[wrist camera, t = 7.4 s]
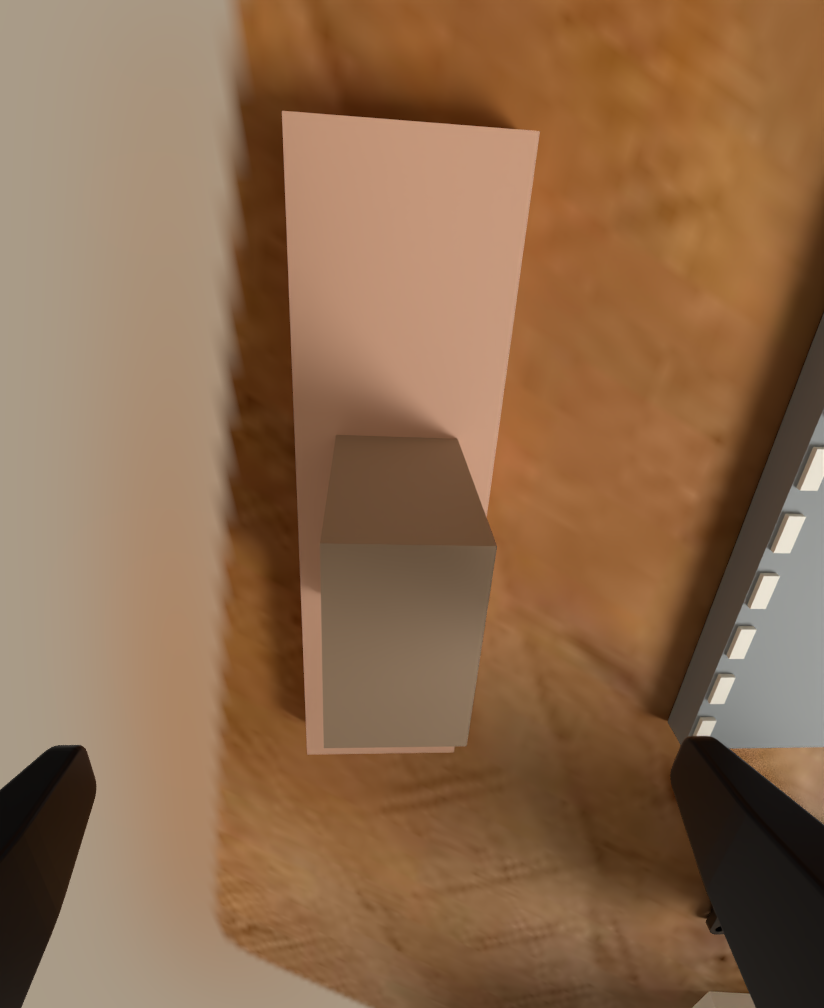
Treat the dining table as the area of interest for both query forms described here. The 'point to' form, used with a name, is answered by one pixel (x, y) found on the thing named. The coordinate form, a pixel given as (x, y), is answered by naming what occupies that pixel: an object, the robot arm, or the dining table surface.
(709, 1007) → the milk
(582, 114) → the dining table surface
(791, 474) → the board
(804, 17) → the dining table surface
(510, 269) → the stub
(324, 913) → the dining table surface
